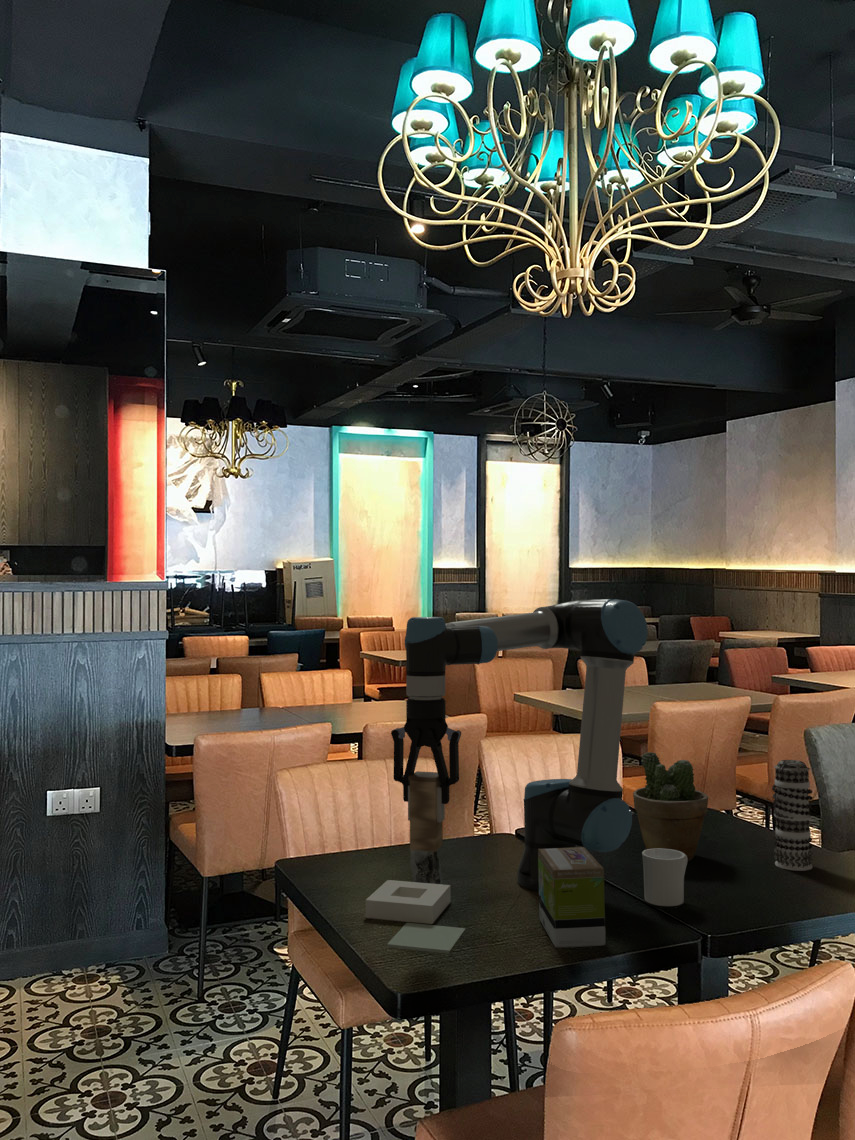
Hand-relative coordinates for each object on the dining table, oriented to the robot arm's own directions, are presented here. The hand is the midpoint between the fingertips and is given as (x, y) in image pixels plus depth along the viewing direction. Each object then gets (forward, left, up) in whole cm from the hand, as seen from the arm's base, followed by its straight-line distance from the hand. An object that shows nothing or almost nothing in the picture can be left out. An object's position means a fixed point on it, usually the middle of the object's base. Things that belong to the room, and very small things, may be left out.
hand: (426, 819), depth 179 cm
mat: (0, 0, -23) cm, 23 cm away
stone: (+9, -32, -23) cm, 40 cm away
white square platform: (+8, -14, -23) cm, 28 cm away
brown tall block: (0, 0, -5) cm, 5 cm away
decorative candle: (-71, -71, -23) cm, 103 cm away
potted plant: (-43, -72, -23) cm, 87 cm away
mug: (-43, -35, -23) cm, 60 cm away
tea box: (-26, -11, -23) cm, 36 cm away
